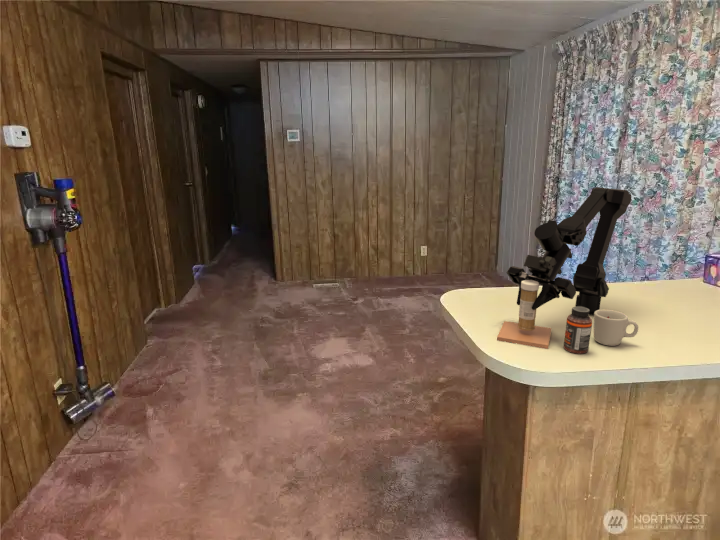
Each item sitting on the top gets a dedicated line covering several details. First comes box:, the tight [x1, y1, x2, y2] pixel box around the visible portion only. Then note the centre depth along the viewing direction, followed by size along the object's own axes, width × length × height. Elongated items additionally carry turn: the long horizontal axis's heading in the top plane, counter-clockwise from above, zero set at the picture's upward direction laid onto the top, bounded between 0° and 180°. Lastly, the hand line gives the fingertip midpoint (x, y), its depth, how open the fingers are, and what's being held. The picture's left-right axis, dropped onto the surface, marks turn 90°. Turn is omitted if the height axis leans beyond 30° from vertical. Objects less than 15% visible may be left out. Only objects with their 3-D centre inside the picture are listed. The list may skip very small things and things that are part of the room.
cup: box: [593, 309, 639, 347], centre depth 127 cm, size 11×8×8 cm
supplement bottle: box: [563, 306, 593, 355], centre depth 122 cm, size 6×6×11 cm
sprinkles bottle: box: [517, 280, 540, 331], centre depth 130 cm, size 5×5×14 cm
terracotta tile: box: [496, 320, 552, 350], centre depth 132 cm, size 13×13×1 cm
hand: (525, 306), depth 129 cm, fingers closed on sprinkles bottle, 4 cm apart
